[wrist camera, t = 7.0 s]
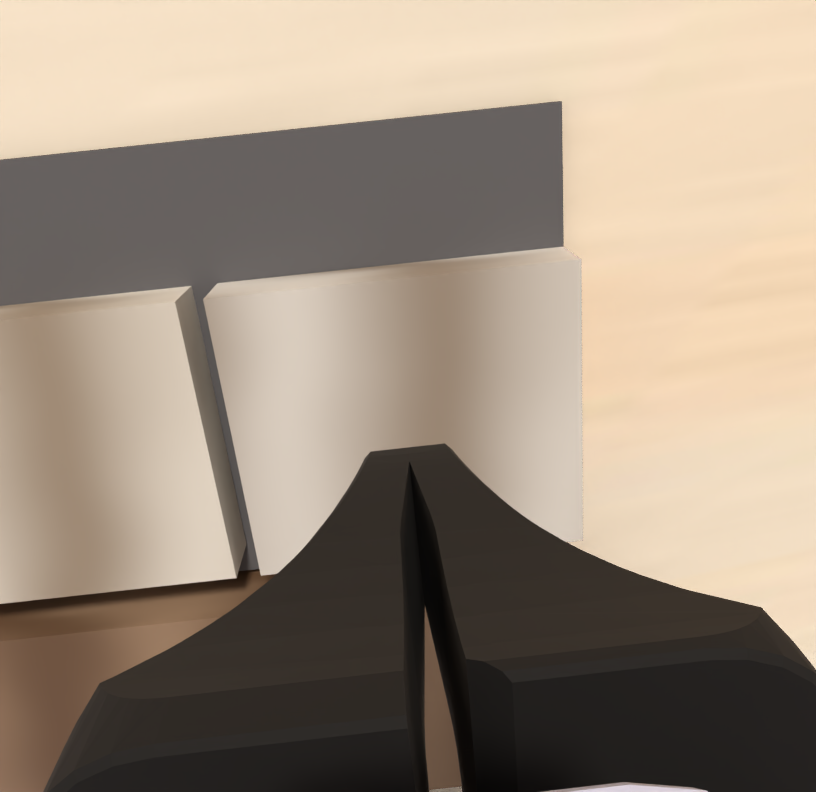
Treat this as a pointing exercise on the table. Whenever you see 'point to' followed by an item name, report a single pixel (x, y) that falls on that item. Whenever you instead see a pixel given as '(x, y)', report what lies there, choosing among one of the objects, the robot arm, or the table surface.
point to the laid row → (123, 649)
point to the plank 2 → (403, 383)
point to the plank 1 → (111, 449)
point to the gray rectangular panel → (279, 210)
